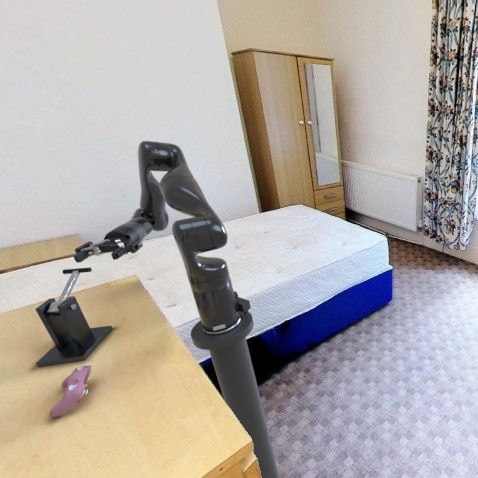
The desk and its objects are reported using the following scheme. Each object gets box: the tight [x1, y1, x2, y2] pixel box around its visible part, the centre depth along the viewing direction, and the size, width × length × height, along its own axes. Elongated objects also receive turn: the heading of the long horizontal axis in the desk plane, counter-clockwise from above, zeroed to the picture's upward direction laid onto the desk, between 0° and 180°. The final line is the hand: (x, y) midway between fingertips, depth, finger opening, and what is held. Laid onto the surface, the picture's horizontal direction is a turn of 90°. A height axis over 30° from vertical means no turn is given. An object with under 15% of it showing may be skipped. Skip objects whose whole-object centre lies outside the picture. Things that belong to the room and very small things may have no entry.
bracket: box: [34, 295, 114, 368], centre depth 80 cm, size 12×9×14 cm
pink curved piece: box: [49, 365, 92, 418], centre depth 68 cm, size 10×5×7 cm, turn 34°
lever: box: [47, 267, 93, 316], centre depth 81 cm, size 13×6×2 cm, turn 16°
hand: (95, 258), depth 91 cm, fingers open, 8 cm apart
